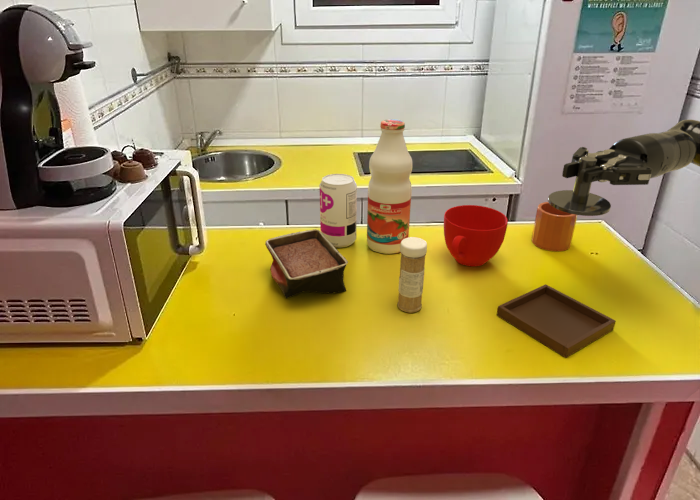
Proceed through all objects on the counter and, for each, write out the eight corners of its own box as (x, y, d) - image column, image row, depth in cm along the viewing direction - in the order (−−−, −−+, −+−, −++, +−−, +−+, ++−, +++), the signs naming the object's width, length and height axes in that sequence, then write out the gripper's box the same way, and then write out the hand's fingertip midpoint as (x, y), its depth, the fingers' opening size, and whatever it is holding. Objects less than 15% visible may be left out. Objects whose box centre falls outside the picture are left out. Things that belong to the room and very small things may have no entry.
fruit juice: (412, 239, 120) (420, 118, 107) (401, 258, 112) (409, 129, 99) (373, 233, 123) (377, 114, 110) (360, 250, 115) (363, 125, 102)
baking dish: (279, 318, 96) (282, 275, 90) (261, 261, 109) (263, 221, 103) (353, 309, 100) (360, 267, 95) (326, 255, 114) (331, 216, 108)
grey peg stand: (621, 210, 83) (634, 161, 79) (586, 224, 78) (598, 172, 74) (570, 192, 90) (580, 146, 86) (534, 204, 85) (543, 156, 81)
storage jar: (577, 245, 118) (585, 210, 114) (554, 254, 114) (562, 219, 110) (546, 231, 124) (553, 198, 120) (523, 240, 120) (530, 206, 116)
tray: (613, 330, 90) (616, 320, 89) (565, 358, 83) (568, 348, 82) (543, 292, 100) (545, 284, 99) (496, 315, 93) (497, 306, 93)
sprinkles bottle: (404, 297, 99) (408, 233, 92) (426, 305, 96) (432, 240, 90) (392, 308, 95) (395, 243, 89) (414, 316, 93) (419, 250, 87)
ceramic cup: (421, 270, 108) (425, 227, 103) (454, 240, 120) (459, 200, 115) (481, 289, 101) (487, 243, 97) (509, 255, 114) (516, 213, 109)
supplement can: (328, 251, 115) (327, 187, 108) (315, 236, 121) (313, 175, 114) (362, 245, 118) (363, 182, 111) (347, 230, 124) (347, 170, 117)
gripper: (612, 125, 91) (542, 139, 83) (691, 146, 80) (619, 163, 73) (602, 166, 94) (534, 183, 87) (676, 191, 84) (606, 212, 76)
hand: (573, 174), depth 80 cm, fingers closed on grey peg stand, 2 cm apart
